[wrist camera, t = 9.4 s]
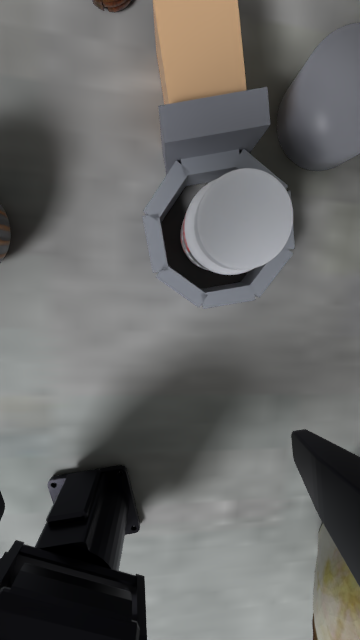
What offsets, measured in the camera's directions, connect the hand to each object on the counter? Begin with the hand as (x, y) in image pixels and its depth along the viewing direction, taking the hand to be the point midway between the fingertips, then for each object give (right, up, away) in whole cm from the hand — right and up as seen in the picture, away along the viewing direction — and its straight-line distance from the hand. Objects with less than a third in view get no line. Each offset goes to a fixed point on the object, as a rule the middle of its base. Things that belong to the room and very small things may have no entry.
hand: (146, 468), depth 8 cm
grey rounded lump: (+10, +17, +10) cm, 23 cm away
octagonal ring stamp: (+3, +14, +10) cm, 17 cm away
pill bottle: (+3, +10, +11) cm, 16 cm away
